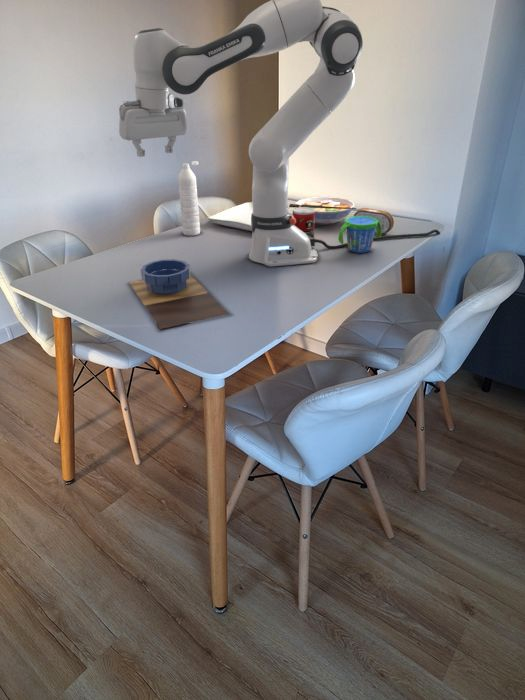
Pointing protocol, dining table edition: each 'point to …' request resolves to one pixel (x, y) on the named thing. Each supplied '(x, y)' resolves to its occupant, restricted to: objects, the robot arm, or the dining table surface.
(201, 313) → the mat
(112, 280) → the dining table surface
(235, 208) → the square plate
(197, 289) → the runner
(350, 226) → the snack cup
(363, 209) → the tin
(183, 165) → the water bottle
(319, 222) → the ramen bowl
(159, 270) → the bowl
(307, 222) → the canned food
